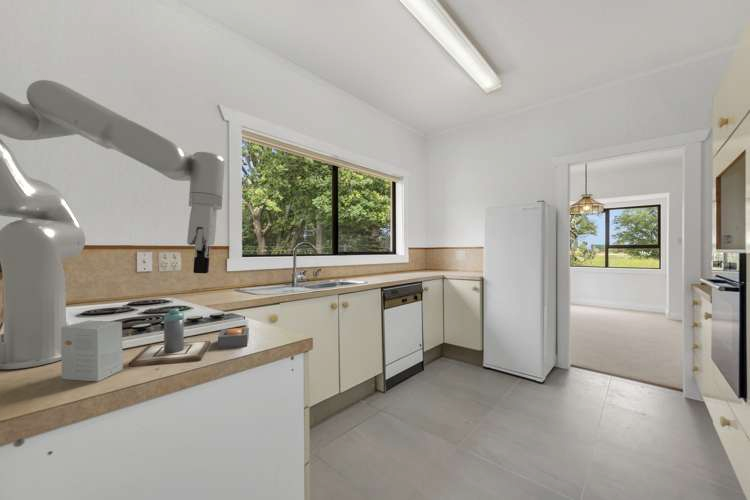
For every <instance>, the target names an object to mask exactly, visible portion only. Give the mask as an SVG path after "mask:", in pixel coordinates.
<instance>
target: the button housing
mask: <svg viewBox="0 0 750 500" xmlns="http://www.w3.org/2000/svg"><path fill="white" fill-rule="evenodd" d="M229 329H230V328H226V329H225V328H223V329H221V330H220V332H219V335H218V337H217V349H229V348H241V347H242V348H243V347H248V343H249V338H250V337H249V336H250V333H249V331H250V328H249V327H242V328H241V327H240V328H238V329H242V334H236V335H226V331H227V330H229Z"/></svg>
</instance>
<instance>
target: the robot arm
mask: <svg viewBox="0 0 750 500" xmlns="http://www.w3.org/2000/svg"><path fill="white" fill-rule="evenodd" d="M25 93H26V99H27V102H28V103H22V102H20V101H18V100H16V99H15V98H13V97H10V96H9V95H7V94H5V93H4V92H2V91H0V135H2V136H5V137H6V138H7V137H8V138H11V139H14V140H18V141H38V140H45V139H53V138H60V137H61V138H62V137H68V136H74V135H75V136H76V135H79V136H81V137H83V138H85V139H86V140H88V141H91V142H93V143H94V144H96V145H98V146H100V147H102V148H105V149H109V150H111V149H112V150H115V151H116V152H119V153H121V154H122V155H125V156H127V157H129V158H131V159H133V160H135V161H136V162H139V163H141V164H143V165H145V166H147V167H149V168H150V169H153V170H155V171H156V172H158V173H160V174H162V175H163V176H165V177H167V178H168V179H171V180H173V181H179V182H180V181H181V182H182V181H184V182H185V181H187V182H188V181H189V195H188V207H191V208H190V213H189V219H188V220H189V221H188V229H187V236H186V237H187V238H186V244H188V245H189V246H194V259H193V271H192V273H194V274H208V273H209V270H210V269H209V267H210V251H211V246H213V245H215V240H216V231H217V230H216V229H217V217H218V216H217V213H218V210H219V211H220V210H222V207H223V206H222V205H223V194H224V193H223V191H224V181H225V180H224V179H225V177H224V176H225V167H226V166H225V163H226V162H225V159H224V158H223V156H221V155H219V154H216V153H213V152H208V151H196V152H194V153H193V154H189V153H187V152H186V151H184V150H183V149H182V148H181V147H180V146H178V145H177V144H176V143H174V142H172V141H171V140H170V139H168V138H166V137H163V136H162V135H160V134H158V133H156V132H154V131H153V130H151V129H149V128H147V127H145V126H143V125H142V124H139V123H137V122H136V121H132V120H131V119H128V118H127V117H125V116H122V115H121V114H119V113H117V112H115V111H113V110H111V109H110V108H108V107H105V106H104V105H102V104H100V103H98V102H96V101H94V100H92V99H90V98H89V97H87V96H85V95H83V94H81V93H79V92H78V91H76V90H74V89H72V88H70V87H69V86H66V85H64V84H61V83H59V82H56V81H53V80H49V79H47V80H46V79H39V80H36V81H34V82H31V83H30V84H29V85H28V87H27V89H26V92H25ZM0 216H2V217H8V218H9V217H10V218H11V217H12V218H20V219H19V220H18V219H17V220H14V221H12V222H11V221H10V222H9V223H7V224H5V225H4V226H3V227H2V228H1V229H0V266H1V274H2V293H3V341H2V342H0V370H19V369H28V368H34V367H39V366H42V365H48V364H53V363H55V362H58V361H62V360H61V327H64V326H67V299H66V298H67V293H66V292H67V290H66V289H67V288H66V283H67V282H66V274H65V271H64V267H63V264H62V261H61V260H65V259H69V258H72V257H75V256H77V255H78V254H81V252H82V251H83V250H84V248H85V245H86V236H85V232H84V230H83V228H82V226H81V225H80V224H79V221H78V220H77V218H76V216H75V215H74V213H73V211H72V209H71V208H70V206H69V204H68V202H67V201H66V199H65V197H64V196H63V195H62V194H61V192H60V191H58V189H57V188H55V187H54V186H53V185H51V184H50V183H47V182H44V181H42V180H39V179H35V178H33V177H32V178H31V177H29V176H28V175H27V174H26V172H25V171H24V169H23V168H22V167H21V166H20V164H19V162H18V160H17V158H16V156H15V155H14V153H13V151H12V150H11V149H10V148H9V146H8V145H6V143H4V141H3V140H2V139H1V138H0Z"/></svg>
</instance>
